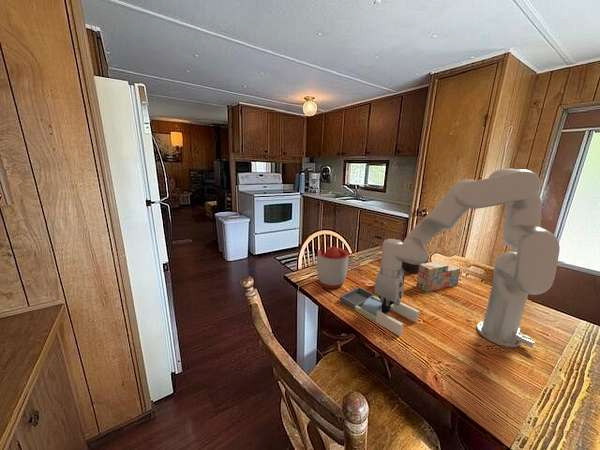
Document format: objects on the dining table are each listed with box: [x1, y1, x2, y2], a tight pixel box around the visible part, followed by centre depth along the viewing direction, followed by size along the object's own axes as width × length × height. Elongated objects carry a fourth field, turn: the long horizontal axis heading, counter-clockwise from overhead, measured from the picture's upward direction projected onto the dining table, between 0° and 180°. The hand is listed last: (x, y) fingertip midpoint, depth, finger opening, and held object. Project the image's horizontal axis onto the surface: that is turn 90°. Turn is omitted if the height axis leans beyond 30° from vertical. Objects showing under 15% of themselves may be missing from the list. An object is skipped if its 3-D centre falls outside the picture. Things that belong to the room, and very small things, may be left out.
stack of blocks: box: [415, 260, 461, 292], centre depth 122 cm, size 21×6×12 cm, turn 110°
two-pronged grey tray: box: [339, 286, 420, 337], centre depth 101 cm, size 29×14×4 cm, turn 39°
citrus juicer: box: [316, 246, 350, 290], centre depth 122 cm, size 16×17×20 cm
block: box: [362, 298, 382, 316], centre depth 101 cm, size 6×6×4 cm
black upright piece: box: [402, 256, 429, 274], centre depth 142 cm, size 16×11×18 cm
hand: (385, 312), depth 98 cm, fingers closed
